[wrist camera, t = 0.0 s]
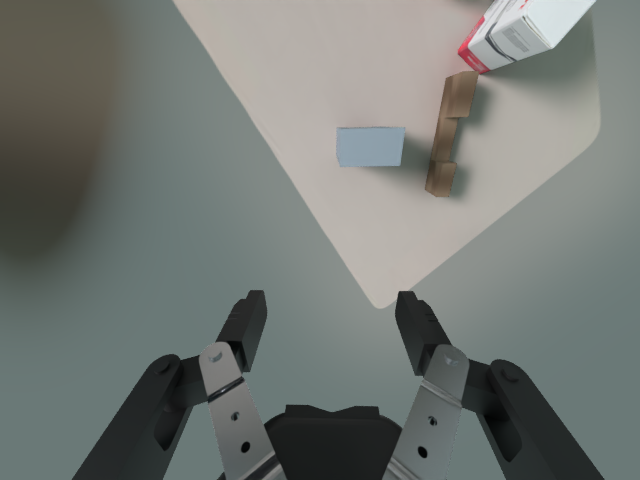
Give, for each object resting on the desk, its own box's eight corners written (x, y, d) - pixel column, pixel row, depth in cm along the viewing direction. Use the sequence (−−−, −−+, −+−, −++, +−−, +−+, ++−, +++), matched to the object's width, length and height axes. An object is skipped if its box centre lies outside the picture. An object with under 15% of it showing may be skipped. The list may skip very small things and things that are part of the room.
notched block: (336, 127, 35) (340, 129, 25) (381, 126, 35) (405, 127, 24) (336, 154, 37) (340, 166, 27) (379, 153, 37) (400, 165, 26)
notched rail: (446, 78, 32) (463, 71, 28) (460, 77, 32) (479, 71, 28) (424, 189, 39) (435, 196, 35) (436, 189, 39) (448, 196, 35)
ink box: (479, 76, 32) (553, 52, 21) (454, 52, 31) (520, 15, 20) (534, 7, 29) (655, -61, 18) (509, -23, 27) (622, -114, 17)
